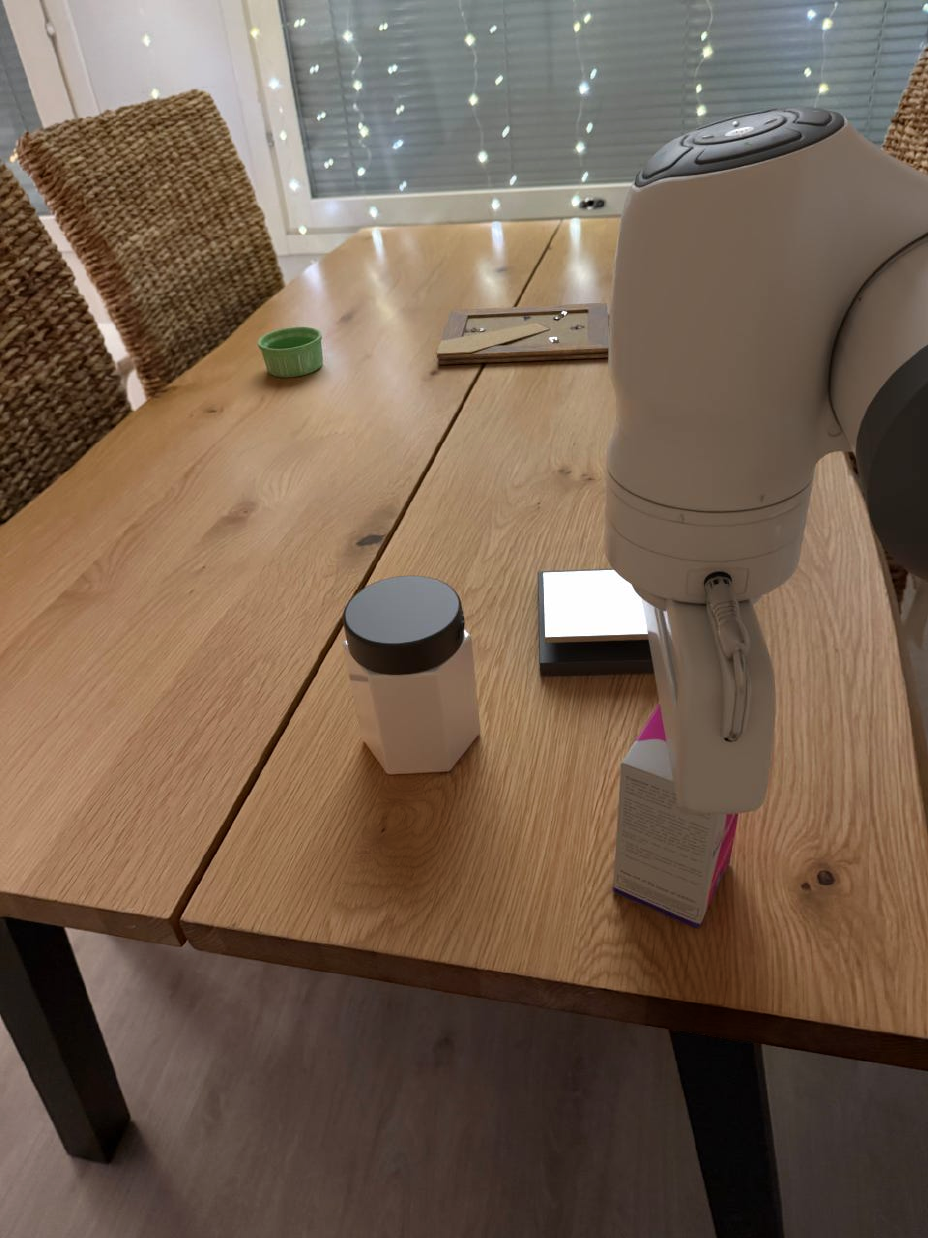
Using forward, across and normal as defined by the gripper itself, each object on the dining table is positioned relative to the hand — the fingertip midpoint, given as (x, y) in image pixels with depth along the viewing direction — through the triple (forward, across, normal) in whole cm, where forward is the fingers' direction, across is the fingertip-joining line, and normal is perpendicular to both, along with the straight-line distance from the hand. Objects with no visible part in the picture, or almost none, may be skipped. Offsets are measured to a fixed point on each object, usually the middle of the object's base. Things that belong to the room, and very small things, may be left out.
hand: (681, 737), depth 50 cm
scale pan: (+9, +25, +2) cm, 26 cm away
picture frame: (+12, +95, +9) cm, 96 cm away
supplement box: (+12, 0, 0) cm, 12 cm away
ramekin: (+13, +89, +42) cm, 99 cm away
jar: (+12, +13, +17) cm, 25 cm away
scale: (+12, +26, 0) cm, 29 cm away
